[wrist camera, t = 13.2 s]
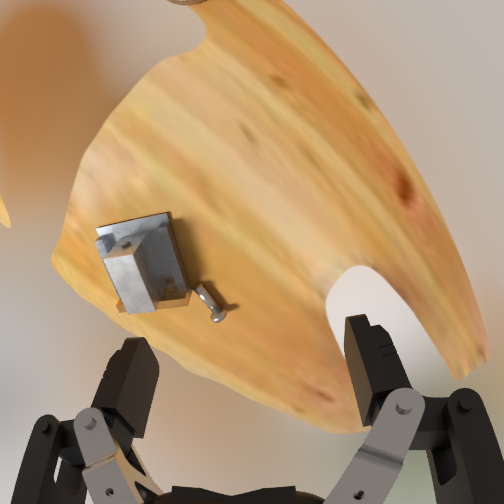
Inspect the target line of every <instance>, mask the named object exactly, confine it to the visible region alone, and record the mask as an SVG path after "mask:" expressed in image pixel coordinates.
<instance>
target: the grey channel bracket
mask: <svg viewBox="0 0 504 504" xmlns="http://www.w3.org/2000/svg"><path fill="white" fill-rule="evenodd" d="M96 230H97V233H98V235H99V238H98V239H97V240H96V241H95V243H96V246H97V248H98V251H99V253H100V256H101V258H102V260H103V259H104V258H105V257H106V255H107V254H108V253H109V252H110V250H111V249H112V248H113V247H114V245H115V244H116V243H117V242H118V241H119V239H120V238H122V237H127V236H132V235H137V234H143V233H148V235H149V238H150V241H151V244H152V247H153V250H154V253H155V255H156V258H157V261H158V264H159V267H160V269H161V272H162V275H163V278H164V280H165V283H166V288H165V290H164V293H163V295H162V298H161V300H160V303H159V305H158V308H157V309H164V308H174V307H183V306H188V304H189V301H190V297H191V293H192V290H191V287H190V284H189V281H188V278H187V275H186V272H185V269H184V266H183V263H182V260H181V256H180V253H179V250H178V247H177V244H176V241H175V237H174V234H173V231H172V228H171V224H170V221H169V218H168V214H167V213H163V214H158V215H153V216H148V217H143V218H139V219H134V220H130V221H125V222H121V223H116V224H112V225H107V226H103V227H99V228H96ZM103 263H104V265H105V262H104V260H103ZM105 267H106V265H105ZM106 270H107V267H106ZM107 272H108V270H107ZM108 274H109V272H108ZM109 276H110V274H109ZM110 279H111V276H110ZM111 281H112V279H111ZM112 283H113V281H112ZM113 285H114V283H113ZM114 288H115V285H114ZM115 290H116V288H115ZM116 292H117V290H116ZM117 294H118V292H117ZM118 296H119V294H118ZM119 298H120V296H119ZM116 307H117V309H118V311H119V313H121V312H127V311H126V309H125V307H124V305H123V302H122V300H121V298H120V300H119V301H118V303H117V305H116Z"/></svg>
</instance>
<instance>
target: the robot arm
mask: <svg viewBox="0 0 504 504" xmlns="http://www.w3.org/2000/svg"><path fill="white" fill-rule="evenodd" d="M168 1H169V2H172V3H174V4H179V5H192V4H197V3H200V2H203V1H205V0H168ZM344 352H345V358H346V362H347V366H348V369H349V373H350V377H351V380H352V384H353V388H354V392H355V396H356V400H357V404H358V408H359V412H360V416H361V420H362V424H363V427H365V426H369V425H371V427H372V428H371V430H370V432H369V434H368V435H367V437H366V439H365V441H364V443H363V444H362V446H361V448H360V449H359V450H358V451H357V453H356V454H355V456H354V457H353V459H352V461H351V462H350V464H349V465H348V467H347V469H346V470H345V472H344V473H343V475H342V477H341V478H340V480H339V481H338V483H337V484H336V486H335V487H334V489H333V490H332V491H331V493H330V495H329V496H328V497H327V499H326V500H325V499H323V498H321V497H319V496H316V495H313V494H310V493H306V492H299V491H296V488H295V486H288V487H276V488H262V489H259V490H256V491H251V492H247V493H243V494H238V495H234V496H229V495H224V494H220V493H216V492H213V491H209V490H205V489H202V488H192V487H180V486H172V492H168V493H163V491H162V490H161V489H160V488H159V486H158V485H157V484H156V483H155V482H154V481H153V480H152V478H151V477H150V475H149V473H148V471H147V470H146V468H145V466H144V465H143V462H142V461H141V459H140V457H139V455H138V453H137V451H136V449H135V447H134V446H133V444H132V441H133V437H134V438H143V437H144V433H145V428H146V424H147V420H148V416H149V412H150V408H151V403H152V400H153V396H154V392H155V388H156V384H157V380H158V377H159V364H158V361H157V359H156V357H155V355H154V353H153V351H152V349H151V348H150V346H149V344H148V342H147V340H146V339H145V338H144V337H135V338H127V339H126V340H125V341H124V344H123V346H122V348H121V350H117V351H116V352H115V353H114V355H113V356H112V357H111V358H110V360H109V362H108V364H107V367H106V370H105V372H104V374H103V378H102V379H101V382H100V384H99V387H98V389H97V392H96V394H95V397H94V400H93V402H92V405H91V407H90V408H86V409H84V410H82V411H81V412H80V413H78V414H77V416H76V418H75V419H73V420H67V421H61V422H59V421H58V420H57V419H56V418H55V417H54V416H53V415H44V416H42V417H40V418H39V419H38V420H37V422H36V423H35V425H34V428H33V430H32V433H31V436H30V439H29V442H28V445H27V448H26V451H25V454H24V457H23V460H22V464H21V467H20V470H19V474H18V477H17V481H16V484H15V488H14V492H13V496H12V500H11V504H85V499H86V494H87V489H88V491H89V493H90V496H91V498H92V501H93V503H94V504H383V502H384V501H385V498H386V497H387V495H388V494H389V492H390V490H391V488H392V486H393V484H394V482H395V480H396V478H397V477H398V475H399V472H400V470H401V468H402V465H403V460H404V458H405V456H406V454H407V451H408V450H426V453H427V457H428V461H429V466H430V470H431V475H432V480H433V485H434V491H435V496H436V502H437V504H504V460H503V457H502V454H501V450H500V448H499V444H498V441H497V438H496V436H495V433H494V430H493V427H492V424H491V422H490V419H489V416H488V414H487V412H486V409H485V406H484V404H483V401H482V399H481V397H480V395H479V394H478V393H477V392H475V391H474V390H472V389H469V388H461V389H458V390H456V391H454V392H453V393H452V394H451V396H450V397H446V398H432V397H425V396H422V395H421V394H420V393H419V392H417V391H416V390H414V389H413V388H412V386H411V384H410V382H409V380H408V377H407V375H406V373H405V370H404V368H403V365H402V363H401V360H400V358H399V356H398V354H397V351H396V349H395V346H394V345H393V342H392V339H391V337H390V335H389V333H388V332H387V331H386V330H385V329H384V328H383V327H382V326H380V325H375V326H370V323H369V321H368V318H367V316H366V315H365V314H361V315H355V316H349V317H346V319H345V335H344ZM58 457H60V458H61V459H62V461H61V465H60V469H59V473H58V477H57V481H56V483H55V481H54V472H55V469H56V465H57V460H58Z"/></svg>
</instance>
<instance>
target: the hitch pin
mask: <svg viewBox="0 0 504 504" xmlns="http://www.w3.org/2000/svg"><path fill="white" fill-rule="evenodd" d="M194 291H195V292H196V293H197V294H198V296H199V297H200V298H201V299H202V300H203V302H204V303H205V304H206V305H207V307H208V308H209V309H210V310H211V311H212V314H211V319H212V321H213V322H214V323H218V322H220V321H222V320H223V319H224V318H225V317H226V314H227V313H226V311H225V310H224V309H223V308H220V307H219V305H218V304H217V303H216V302H215V300H214V299H213V298H212V297H211V295H210V294H209V293H208V292H207V290H206V289H205V288H204V287H203V285H202V284H201V283H199V284H197V285H196V286H195V287H194Z"/></svg>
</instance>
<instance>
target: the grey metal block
mask: <svg viewBox="0 0 504 504" xmlns="http://www.w3.org/2000/svg"><path fill="white" fill-rule="evenodd" d="M103 260H104V262H105V265H106V267H107V270H108V272H109V274H110V276H111V279H112V281H113V283H114V285H115V288H116V290H117V292H118V294H119V296H120V298H121V300H122V302H123V305H124V307H125V309H126V311H127V313H128V314H134V313H146V312H156V310H157V308H158V305H159V303H160V300H161V298H162V295H163V293H164V290H165V288H166V283H165V280H164V278H163V275H162V272H161V269H160V267H159V264H158V261H157V258H156V255H155V253H154V250H153V247H152V244H151V241H150V238H149V235H148V233H143V234H137V235H132V236H127V237H122V238H120V239H119V241H118V242H117V243H116V244H115V245H114V247H113V248H112V249H111V250H110V252H109V253H108V254H107V255H106V257H105V258H104V259H103Z"/></svg>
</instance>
